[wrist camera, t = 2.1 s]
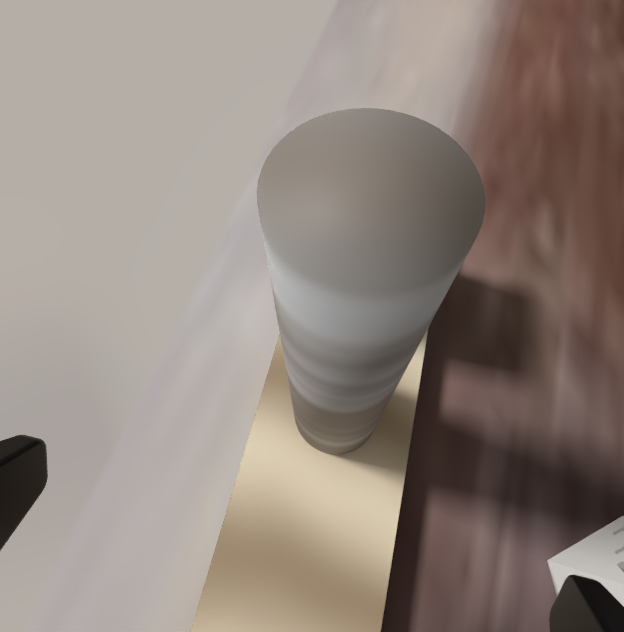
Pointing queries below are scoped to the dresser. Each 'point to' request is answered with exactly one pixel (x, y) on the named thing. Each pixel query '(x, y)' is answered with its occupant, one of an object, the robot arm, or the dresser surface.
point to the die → (594, 560)
